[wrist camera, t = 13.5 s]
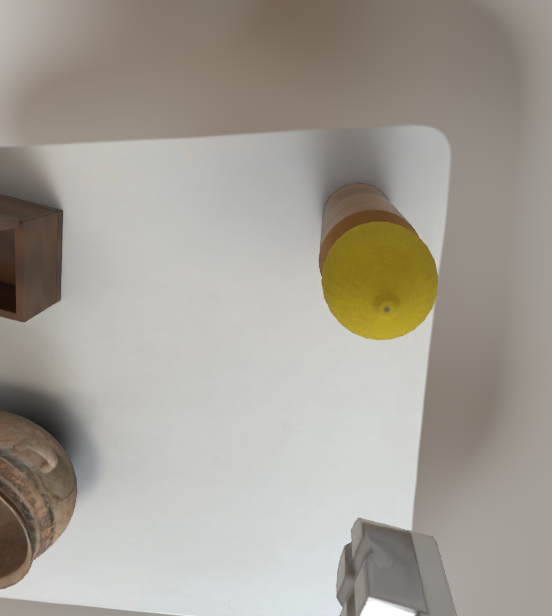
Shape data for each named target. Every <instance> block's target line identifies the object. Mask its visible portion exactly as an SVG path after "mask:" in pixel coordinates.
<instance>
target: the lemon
mask: <svg viewBox="0 0 552 616" xmlns="http://www.w3.org/2000/svg"><path fill="white" fill-rule="evenodd" d="M437 286H438V275H437V270H436V265H435V261H434V259H433V257H432V255H431V253H430V251H429V249H428V247H427V246H426V244H425V243H424V242H423V241H422V240H421V239H420V238H419V237H418V236H417V235H416V234H415V233H413V232H411V231H410V230H408V229H406V228H404V227H403V226H401V225H397V224H393V223H390V222H369V223H365V224H361V225H358V226H356V227H354V228H352V229H350V230H348V231H347V232H345V233H344V234H343V235H342V236H341V237H340V238H339V239H337V240H336V242H335V243H334V245H333V246H332V247H331V249H330V250H329V252H328V254H327V257H326V259H325V262H324V265H323V271H322V287H323V293H324V298H325V300H326V302H327V304H328V307H329V309H330V311H331V313H332V314H333V315H334V316H335V317H336V319H337V320H338V321H339V322H340V323H341V324H342V325H343V326H344V327H345V328H347V329H348V330H350V331H351V332H352V333H355V334H357V335H359V336H362V337H364V338H368V339H375V340H386V339H393V338H397V337H400V336H403V335H405V334H407V333H409V332H411V331H412V330H414V329H415V328H416V327H417V326H419V325H420V324H421V323H422V322H423V321H424V320H425V318H426V317H427V315H428V314H429V312H430V311H431V309H432V307H433V304H434V302H435V299H436V296H437Z"/></svg>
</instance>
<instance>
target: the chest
mask: <svg viewBox="0 0 552 616" xmlns="http://www.w3.org/2000/svg"><path fill="white" fill-rule="evenodd" d="M0 214H3V215H7V216H11V217H15V218H18V219H19V227H18V228H13V229H8V230H2V231H0V316H1V317H5V318H8V319H12V320H17V321H20V322H26V321H27V320H29V319H31V318H32V317H34V316H35V315H37V314H39V313H40V312H42V311H44V310H45V309H47V308H48V307H50V306H52V305H53V304H55V303H57V302H58V301H60V297H61V261H62V224H63V211H62V210H58V209H54V208H50V207H46V206H43V205H39V204H35V203H31V202H27V201H23V200H19V199H16V198H12V197H8V196H4V195H0Z"/></svg>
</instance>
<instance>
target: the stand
mask: <svg viewBox="0 0 552 616" xmlns="http://www.w3.org/2000/svg"><path fill="white" fill-rule="evenodd" d="M369 222H390V223H393V224H397V225H401V226H403V227H404V228H406V229H408V230H410V231H411V232H413V233H415V234H416V235H417V236H418V234H417V233H416V231H415V229H414V228H413V227H412V226H411V225H410V224H409V222H408V221H407V220H406V219H405V218H404V217H403V216H402V215H401V214H400V212H399V211H398V210H397V209H396V208H395V207H394V206H393V205H392V204H391V202H390V201H389V200H388V199H387V198H386V197H385V196H384V195H383V194H382V193H381V192H380V191H379V190H378V189H376V188H375V187H373V186H371V185H368V184H363V183H354V184H349V185H346V186H343V187H342V188H340V189H338V190H337V191H336V192H334V193H333V194H332V195H331V197H330V198H329V199H328V201H327V203H326V205H325V207H324V210H323V217H322V229H321V242H320V254H319V268H320V273H321V276H322V271H323V265H324V262H325V259H326V257H327V254H328V252H329V250H330V249H331V247H332V246H333V245H334V243H335V242H336V240H337V239H339V238H340V237H341V236H342V235H343V234H344V233H345V232H347V231H348V230H350V229H352V228H354V227H356V226H358V225H361V224H365V223H369ZM418 237H419V236H418Z"/></svg>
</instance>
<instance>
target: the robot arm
mask: <svg viewBox="0 0 552 616" xmlns="http://www.w3.org/2000/svg"><path fill="white" fill-rule="evenodd" d="M351 539H352V542H351V543H349V544H347V545H345V546H344V549H343V552H342V554H341V557H340V561H339V566H338V571H337V584H336V588H337V599H338V601H339V602H340V604H341V606H342V608H343V609H342V611H341V614H340V616H457V614H456V610H455V606H454V603H453V599H452V596H451V592H450V588H449V585H448V582H447V578H446V574H445V571H444V567H443V563H442V560H441V556H440V553H439V549H438V545H437V542H436V540H435V539H434V538H433V537H432V536H429V535H425V534H421V533H417V532H413V531H409V530H407V531H406V530H405V529H402V528H398V527H394V526H390V525H386V524H382V523H378V522H374V521H370V520H366V519H362V518H358V519H357V520H356V521H355V523H354V525H353V527H352V529H351Z"/></svg>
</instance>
